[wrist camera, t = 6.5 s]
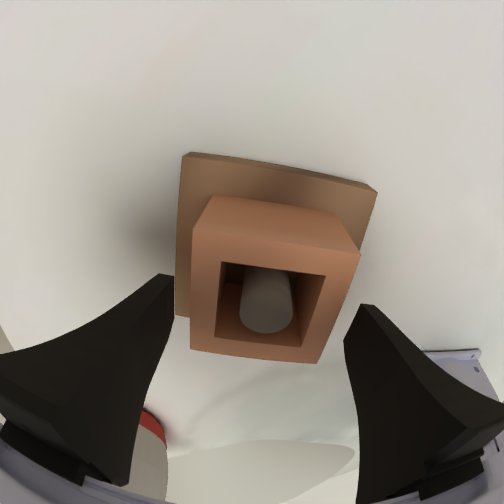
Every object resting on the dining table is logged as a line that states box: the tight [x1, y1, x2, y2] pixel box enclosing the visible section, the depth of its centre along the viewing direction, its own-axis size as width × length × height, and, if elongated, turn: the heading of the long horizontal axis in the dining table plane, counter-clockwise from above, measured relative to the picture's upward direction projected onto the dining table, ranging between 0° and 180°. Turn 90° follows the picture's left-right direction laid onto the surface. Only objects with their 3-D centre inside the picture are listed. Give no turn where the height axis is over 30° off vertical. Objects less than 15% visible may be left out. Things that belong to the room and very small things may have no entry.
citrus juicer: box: [104, 410, 168, 501], centre depth 18 cm, size 16×17×20 cm
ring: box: [190, 194, 361, 364], centre depth 12 cm, size 6×6×4 cm
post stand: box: [175, 152, 378, 334], centre depth 13 cm, size 9×9×6 cm
